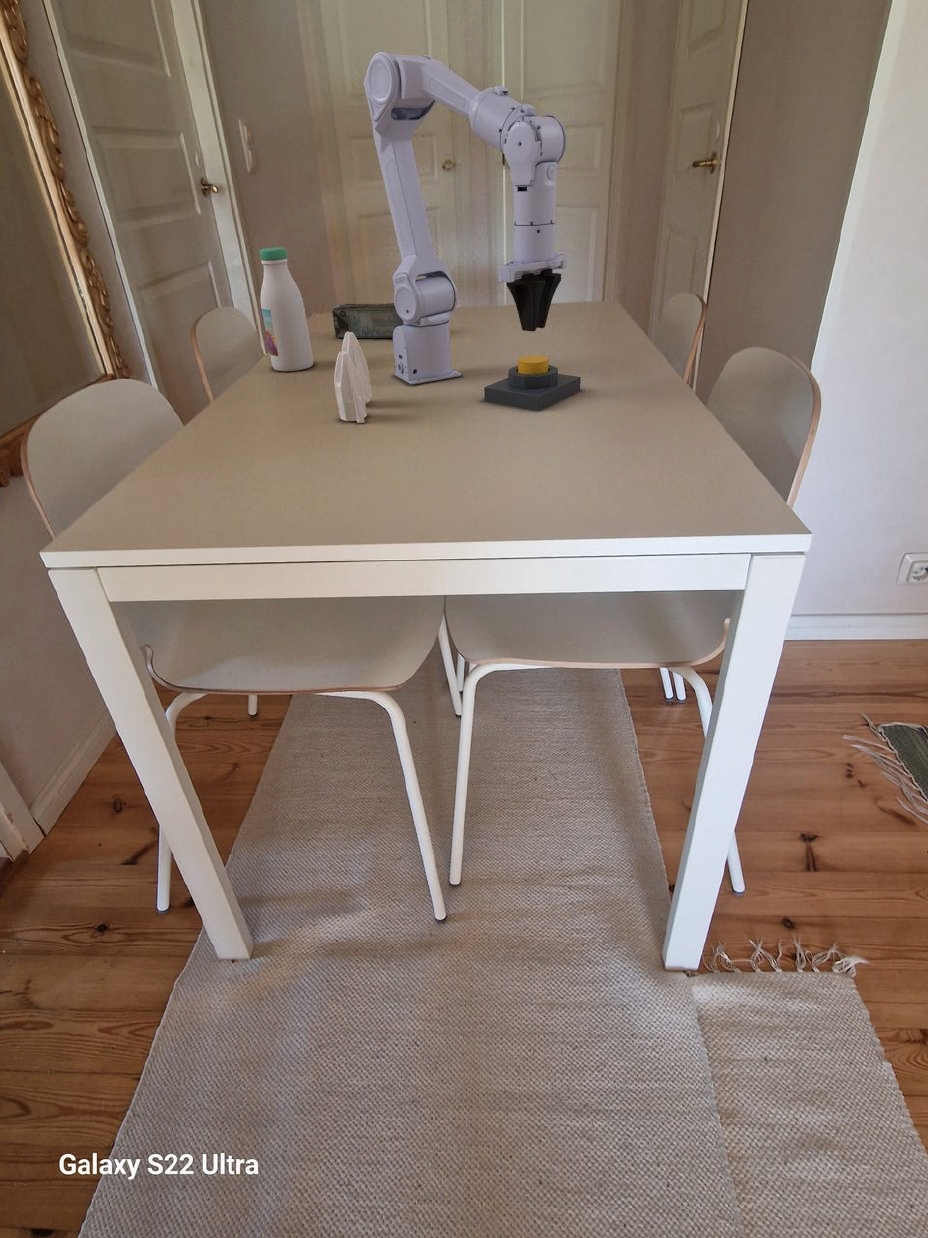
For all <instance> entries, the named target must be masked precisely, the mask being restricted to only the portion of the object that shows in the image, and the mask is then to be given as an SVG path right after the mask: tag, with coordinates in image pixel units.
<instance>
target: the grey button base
mask: <svg viewBox="0 0 928 1238" xmlns="http://www.w3.org/2000/svg"><path fill="white" fill-rule="evenodd" d="M581 379H582V377H581V376H578V375H570V374H563V373H559V368H558V367H556V366H554V365H552V364H548V372H546V373H542V374H521V373H518V365H515V366H513V367H510V368H509V369H508V372H507V377H506V378H503V379H501V380H498V381H496V382H493V383H491V384H489V385H486V386H484V388H483V389H484V393H483V394H484V395H483V396H484V402H487V403H491V404H497V405H502V406H508V407H514V408H518V409H525V410H529V411H534V412H535V411H536V412H539V411H542V410H544V409H546V408H548V407H550V406H552V405H554V404H556V403H558V402H560V401H562V400H565V399H567V398H568V397H570V396H573V395H574V394H575V395H576V394H577V393H579V392H580V391H581V381H582V380H581Z"/></svg>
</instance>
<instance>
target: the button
mask: <svg viewBox="0 0 928 1238" xmlns="http://www.w3.org/2000/svg"><path fill="white" fill-rule="evenodd" d="M548 365H549V357H548V356H544V355H537V354H536V355H535V354H533V355H523V356H521V357H519V358H518V359H517V366H518V373H521V374H542V373H546V372H548Z"/></svg>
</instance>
